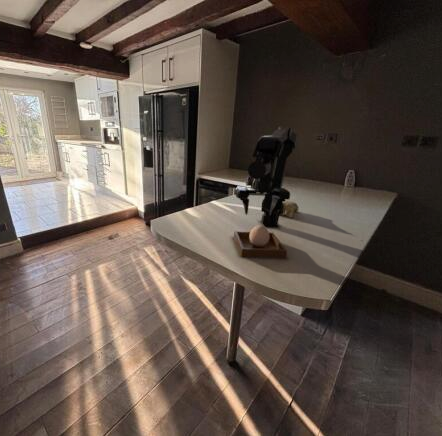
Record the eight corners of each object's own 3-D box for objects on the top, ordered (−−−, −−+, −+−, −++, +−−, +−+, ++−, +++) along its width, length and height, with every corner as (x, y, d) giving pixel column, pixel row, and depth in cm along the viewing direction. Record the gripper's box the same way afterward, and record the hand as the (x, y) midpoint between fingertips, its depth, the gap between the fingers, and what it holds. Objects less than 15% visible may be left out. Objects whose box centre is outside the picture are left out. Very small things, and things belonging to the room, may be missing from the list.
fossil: (277, 206, 134) (293, 196, 128) (288, 220, 132) (304, 210, 126) (269, 209, 123) (286, 198, 117) (280, 224, 120) (298, 214, 115)
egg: (271, 249, 86) (275, 228, 83) (254, 251, 84) (258, 230, 81) (260, 240, 93) (263, 221, 89) (244, 242, 91) (247, 223, 87)
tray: (271, 239, 95) (272, 232, 94) (285, 258, 82) (287, 250, 80) (233, 237, 95) (234, 231, 94) (241, 256, 82) (242, 248, 81)
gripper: (282, 170, 89) (275, 208, 96) (234, 169, 90) (230, 207, 96) (294, 176, 79) (286, 218, 85) (240, 175, 79) (235, 217, 85)
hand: (258, 214), depth 88 cm, fingers open, 9 cm apart
